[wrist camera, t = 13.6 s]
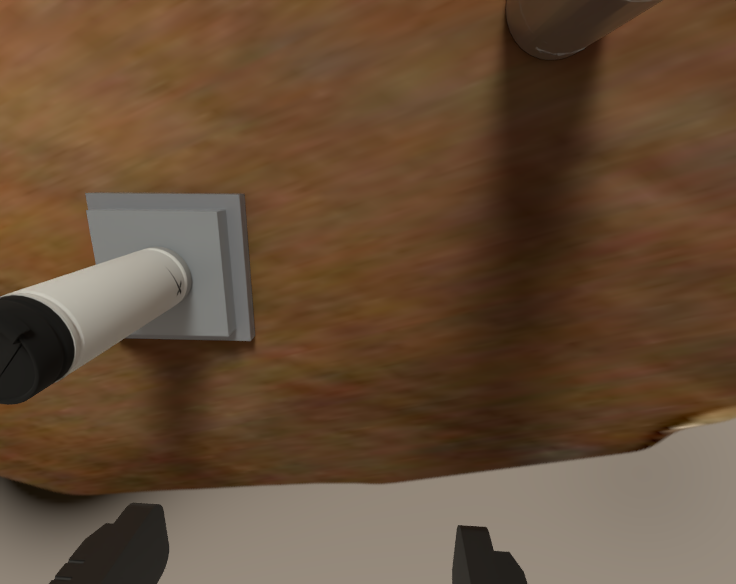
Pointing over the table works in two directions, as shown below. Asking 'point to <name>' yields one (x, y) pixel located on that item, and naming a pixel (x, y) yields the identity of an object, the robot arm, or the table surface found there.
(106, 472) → the table surface
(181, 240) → the slate plinth
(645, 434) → the table surface
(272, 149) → the table surface
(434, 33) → the table surface
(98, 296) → the travel mug
